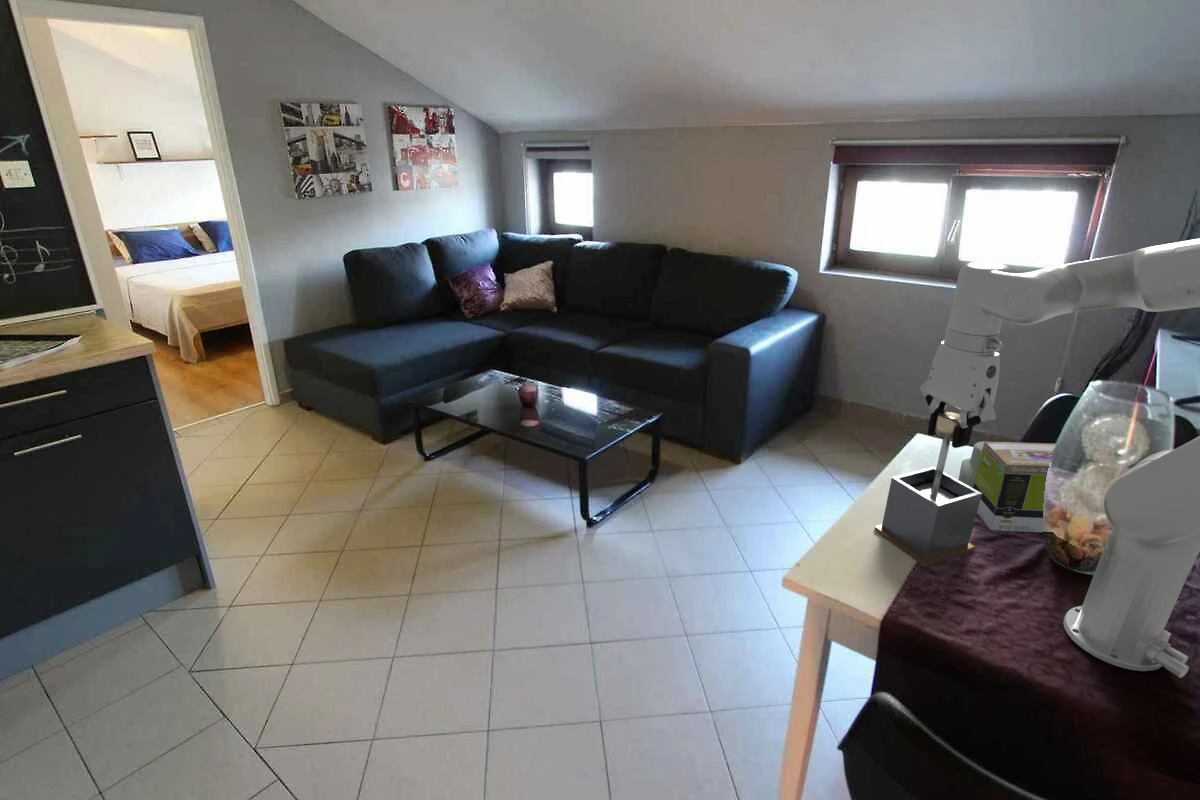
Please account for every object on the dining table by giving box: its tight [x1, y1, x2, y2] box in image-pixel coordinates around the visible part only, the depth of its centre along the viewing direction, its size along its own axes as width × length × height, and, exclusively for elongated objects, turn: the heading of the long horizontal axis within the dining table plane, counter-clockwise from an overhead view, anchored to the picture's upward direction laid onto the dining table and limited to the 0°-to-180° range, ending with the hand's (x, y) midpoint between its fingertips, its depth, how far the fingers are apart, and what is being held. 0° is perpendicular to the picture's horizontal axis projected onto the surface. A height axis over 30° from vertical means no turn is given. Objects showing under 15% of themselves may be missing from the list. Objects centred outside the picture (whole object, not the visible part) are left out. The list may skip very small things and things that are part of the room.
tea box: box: [973, 441, 1057, 533], centre depth 126 cm, size 15×10×15 cm, turn 84°
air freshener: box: [958, 441, 985, 488], centre depth 137 cm, size 11×8×10 cm
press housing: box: [873, 466, 982, 568], centre depth 120 cm, size 12×12×12 cm
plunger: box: [914, 411, 960, 503], centre depth 115 cm, size 8×8×17 cm
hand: (947, 438), depth 113 cm, fingers closed on plunger, 4 cm apart
